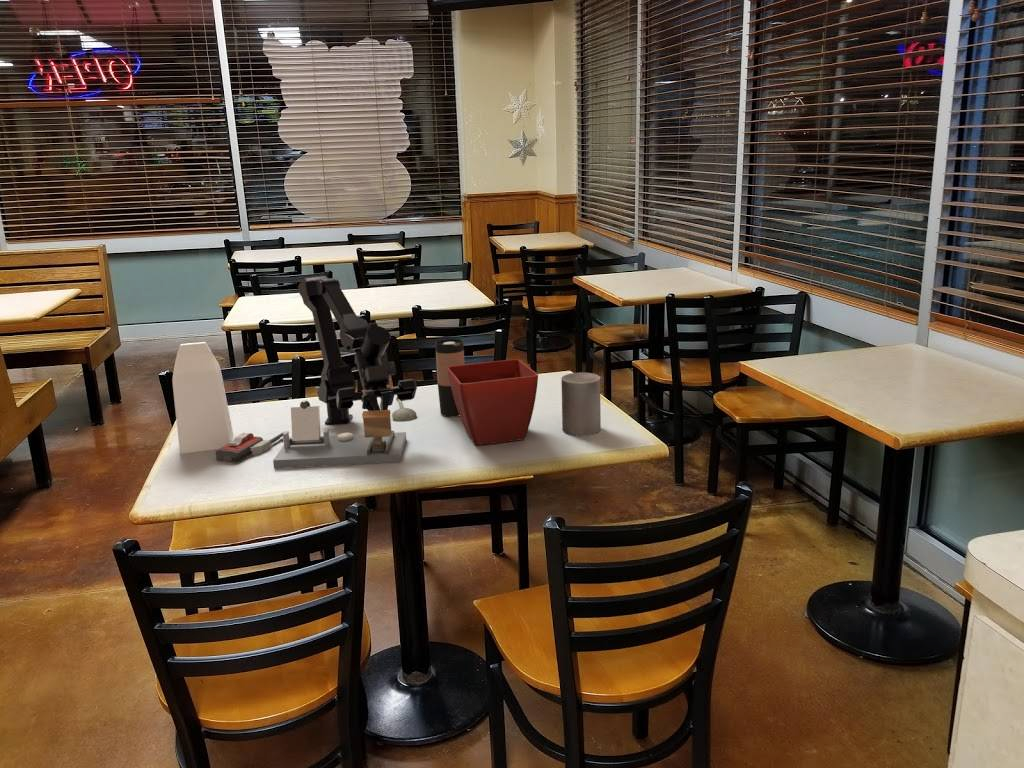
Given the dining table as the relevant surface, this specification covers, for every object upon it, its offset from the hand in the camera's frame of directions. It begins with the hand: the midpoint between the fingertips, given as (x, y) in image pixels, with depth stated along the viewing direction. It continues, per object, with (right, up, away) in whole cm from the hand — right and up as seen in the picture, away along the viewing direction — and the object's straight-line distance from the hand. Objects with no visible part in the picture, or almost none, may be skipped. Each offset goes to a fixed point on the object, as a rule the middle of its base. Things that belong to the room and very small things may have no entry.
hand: (384, 424), depth 196 cm
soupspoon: (-1, +2, +38) cm, 38 cm away
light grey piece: (-19, -4, +5) cm, 20 cm away
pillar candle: (+47, -2, +15) cm, 50 cm away
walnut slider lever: (-1, -6, 0) cm, 6 cm away
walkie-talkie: (-34, -7, +11) cm, 37 cm away
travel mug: (+14, +1, +33) cm, 36 cm away
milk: (-47, -6, +17) cm, 51 cm away
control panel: (-11, -7, +5) cm, 14 cm away
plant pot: (+26, -4, +13) cm, 29 cm away
